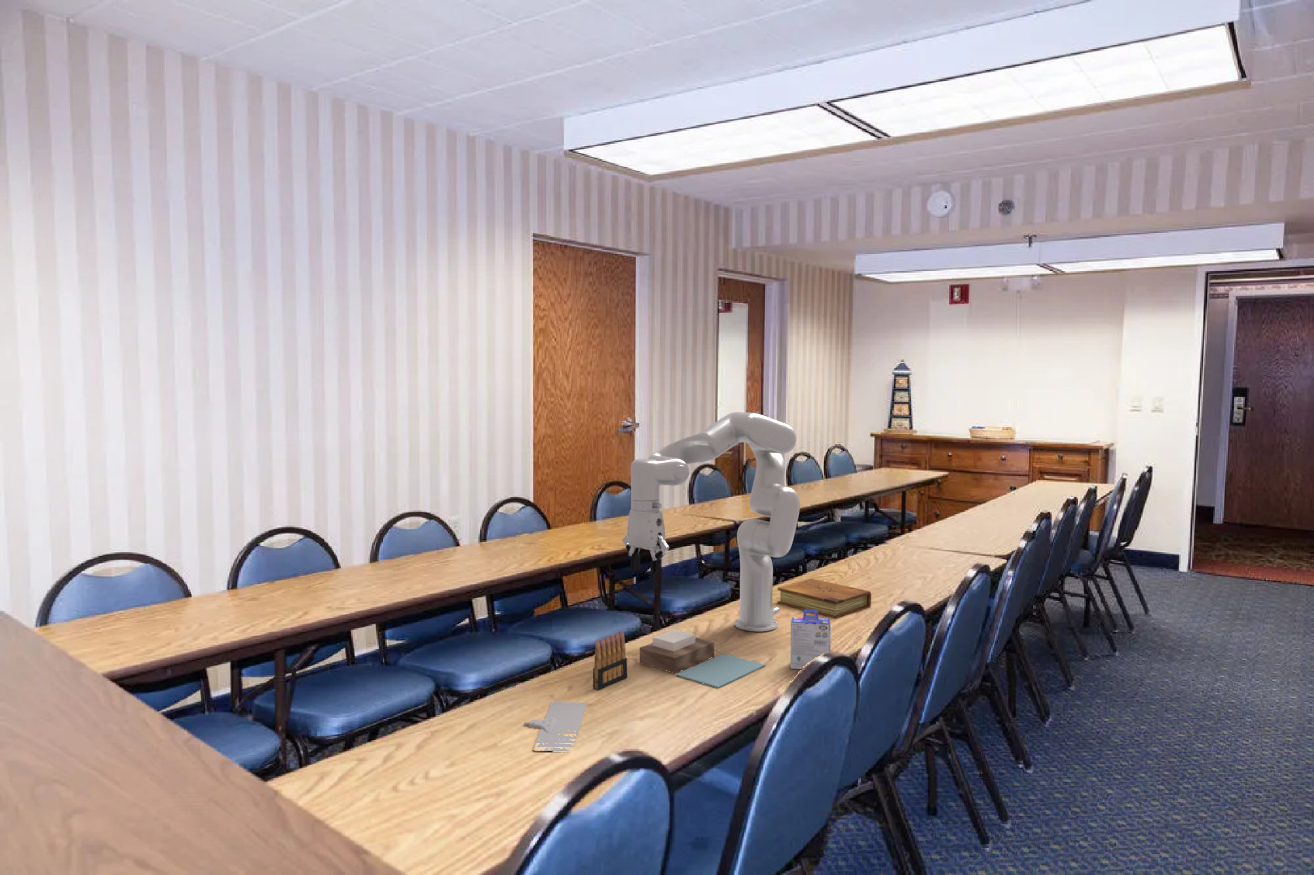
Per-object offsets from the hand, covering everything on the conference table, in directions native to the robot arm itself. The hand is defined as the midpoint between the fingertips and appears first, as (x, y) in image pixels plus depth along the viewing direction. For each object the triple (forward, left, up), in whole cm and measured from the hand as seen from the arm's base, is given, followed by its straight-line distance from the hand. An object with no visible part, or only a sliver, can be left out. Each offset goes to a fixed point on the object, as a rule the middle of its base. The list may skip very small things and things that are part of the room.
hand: (645, 571), depth 223 cm
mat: (-1, +25, -22) cm, 33 cm away
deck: (0, +11, -22) cm, 24 cm away
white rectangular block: (0, +10, -17) cm, 19 cm away
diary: (-71, +14, -22) cm, 76 cm away
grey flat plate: (+45, +21, -22) cm, 54 cm away
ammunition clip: (+23, +9, -22) cm, 33 cm away
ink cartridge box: (-18, +40, -22) cm, 49 cm away
